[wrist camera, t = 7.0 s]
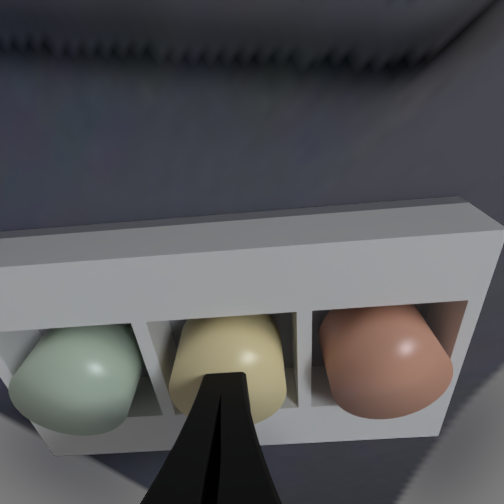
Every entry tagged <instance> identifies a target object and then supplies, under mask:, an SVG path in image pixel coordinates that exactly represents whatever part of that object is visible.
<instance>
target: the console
mask: <svg viewBox="0 0 504 504" xmlns="http://www.w3.org/2000/svg"><path fill="white" fill-rule="evenodd" d="M503 243H504V226H502V225H501V224H499V223H498V222H496V221H495V220H493V219H492V218H491V217H489V216H488V215H486V214H485V213H483V212H482V211H480V210H479V209H477V208H476V207H474V206H473V205H471V204H470V203H469V202H467V201H466V200H464V199H463V198H461V197H460V196H452V197H439V198H426V199H413V200H400V201H388V202H375V203H362V204H349V205H336V206H324V207H311V208H298V209H285V210H272V211H260V212H247V213H234V214H221V215H208V216H196V217H183V218H170V219H157V220H144V221H132V222H119V223H106V224H93V225H80V226H68V227H55V228H42V229H29V230H16V231H4V232H0V377H1V379H2V380H3V382H4V383H5V385H6V386H7V388H8V389H9V383H10V381H11V379H12V377H13V376H14V374H15V373H16V372H17V370H18V369H19V367H20V366H21V365H22V363H23V362H24V361H25V359H26V358H27V356H28V355H29V354H30V352H31V351H32V350H33V348H34V347H35V346H36V344H37V343H38V341H39V340H40V339H41V337H42V336H43V335H44V333H45V332H46V330H47V329H49V328H64V327H79V326H94V325H109V324H124V323H125V324H127V325H128V326H130V327H131V328H132V329H133V331H134V333H135V336H136V339H137V342H138V345H139V348H140V351H141V353H142V356H143V359H144V362H145V365H144V368H143V371H142V374H141V377H140V380H139V383H138V386H137V389H136V392H135V395H134V398H133V400H132V403H131V406H130V409H129V412H128V415H127V418H126V419H125V421H124V422H123V423H122V424H121V425H120V426H119V427H117V428H116V429H114V430H112V431H109V432H107V433H103V434H98V435H91V436H77V435H68V434H63V433H59V432H55V431H52V430H49V429H46V428H44V427H42V426H39V425H37V424H36V423H34V422H32V421H31V420H30V421H31V423H32V424H33V426H34V427H35V429H36V430H37V432H38V433H39V434H40V436H41V437H42V439H43V440H44V442H45V443H46V445H47V446H48V448H49V449H50V451H51V452H52V454H53V455H54V456H71V455H89V454H108V453H127V452H145V451H164V450H171V449H172V447H173V446H174V444H175V442H176V440H177V438H178V436H179V434H180V431H181V429H182V427H183V425H184V423H185V421H186V419H187V416H186V415H184V414H183V413H182V412H181V411H179V410H178V409H177V407H176V406H175V405H174V403H173V402H172V400H171V398H170V394H169V382H170V378H171V374H172V369H173V365H174V361H175V357H176V353H177V349H178V345H179V341H180V336H181V332H182V329H183V326H184V324H185V323H186V321H187V320H188V319H198V318H213V317H228V316H242V315H257V314H268V315H269V316H270V317H271V318H272V319H273V320H274V321H275V323H276V324H277V326H278V328H279V331H280V335H281V343H282V352H283V361H284V370H285V379H286V388H287V391H286V397H285V400H284V402H283V404H282V406H281V407H280V408H279V410H278V411H277V412H276V413H274V414H273V415H272V416H270V417H269V418H267V419H265V420H263V421H261V422H259V423H256V424H254V426H255V430H256V433H257V437H258V440H259V444H260V445H276V444H295V443H313V442H332V441H351V440H369V439H388V438H407V437H425V436H438V435H439V432H440V429H441V426H442V423H443V420H444V417H445V414H446V411H447V408H448V405H449V402H450V399H451V396H452V394H453V391H454V388H455V385H456V382H457V379H458V376H459V373H460V370H461V367H462V364H463V361H464V358H465V355H466V352H467V349H468V346H469V343H470V340H471V337H472V335H473V332H474V329H475V326H476V323H477V320H478V317H479V314H480V311H481V308H482V305H483V302H484V299H485V296H486V293H487V290H488V287H489V284H490V281H491V278H492V276H493V273H494V270H495V267H496V264H497V261H498V258H499V255H500V252H501V249H502V246H503ZM406 304H414V305H415V306H416V308H417V309H418V311H419V312H420V314H421V315H422V317H423V318H424V320H425V321H426V323H427V324H428V326H429V327H430V329H431V331H432V332H433V334H434V335H435V337H436V338H437V340H438V341H439V343H440V344H441V346H442V347H443V349H444V350H445V352H446V353H447V355H448V356H449V358H450V360H451V362H452V365H453V377H452V380H451V383H450V385H449V386H448V388H447V390H446V391H445V392H444V393H443V395H441V396H440V397H439V398H438V399H437V400H436V401H435V402H433V403H432V404H430V405H429V406H427V407H425V408H424V409H422V410H420V411H417V412H415V413H412V414H409V415H406V416H402V417H398V418H392V419H367V418H362V417H358V416H355V415H352V414H350V413H348V412H346V411H345V410H343V409H342V408H341V407H340V406H338V405H337V403H336V402H335V400H334V398H333V396H332V392H331V388H330V384H329V380H328V376H327V372H326V368H325V363H324V359H323V355H322V351H321V347H320V343H319V329H320V326H321V323H322V321H323V320H324V318H325V316H326V315H327V314H328V313H329V312H330V311H331V310H332V309H346V308H361V307H376V306H391V305H406Z"/></svg>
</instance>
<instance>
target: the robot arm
mask: <svg viewBox="0 0 504 504" xmlns="http://www.w3.org/2000/svg"><path fill="white" fill-rule="evenodd" d="M140 504H282V503H281V501H280V498H279V496H278V493H277V491H276V488H275V486H274V483H273V481H272V478H271V475H270V473H269V470H268V467H267V464H266V462H265V459H264V456H263V453H262V450H261V447H260V444H259V440H258V437H257V433H256V430H255V426H254V423H253V419H252V415H251V408H250V400H249V393H248V385H247V378H246V374H245V373H244V372H228V373H211V374H206V375H204V376H203V379H202V382H201V385H200V388H199V390H198V393H197V396H196V398H195V401H194V403H193V405H192V408H191V410H190V412H189V415H188V417H187V419H186V421H185V423H184V425H183V427H182V429H181V431H180V434H179V436H178V438H177V440H176V442H175V444H174V446H173V447H172V449H171V451H170V453H169V455H168V457H167V459H166V460H165V462H164V464H163V466H162V468H161V470H160V471H159V473H158V475H157V477H156V478H155V480H154V482H153V483H152V485H151V487H150V489H149V490H148V492H147V493H146V495H145V497H144V498H143V500H142V501H141V503H140Z"/></svg>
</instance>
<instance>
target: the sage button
mask: <svg viewBox="0 0 504 504" xmlns="http://www.w3.org/2000/svg"><path fill="white" fill-rule="evenodd" d="M144 365H145V362H144V359H143V356H142V353H141V351H140V348H139V345H138V342H137V339H136V336H135V333H134V331H133V329H132V328H131V327H130V326H128V325H127V324H125V323H124V324H109V325H94V326H79V327H64V328H49V329H47V330H46V332H45V333H44V335H43V336H42V337H41V339H40V340H39V341H38V343H37V344H36V346H35V347H34V348H33V350H32V351H31V352H30V354H29V355H28V356H27V358H26V359H25V361H24V362H23V363H22V365H21V366H20V367H19V369H18V370H17V372H16V373H15V374H14V376H13V377H12V379H11V381H10V383H9V389H8V391H9V396H10V399H11V401H12V403H13V405H14V406H15V407H16V408H17V410H18V411H19V412H20V413H21V414H22V415H24V416H25V417H26V418H27V419H29V420H31V421H32V422H34V423H36V424H37V425H39V426H42V427H44V428H46V429H49V430H52V431H55V432H59V433H63V434H68V435H77V436H91V435H98V434H103V433H107V432H109V431H112V430H114V429H116V428H117V427H119V426H120V425H121V424H122V423H123V422H124V421H125V419H126V418H127V415H128V412H129V409H130V406H131V403H132V400H133V398H134V395H135V392H136V389H137V386H138V383H139V380H140V377H141V374H142V371H143V368H144Z"/></svg>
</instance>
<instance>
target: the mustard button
mask: <svg viewBox="0 0 504 504" xmlns="http://www.w3.org/2000/svg"><path fill="white" fill-rule="evenodd" d="M228 372H244V373H245V374H246V378H247V385H248V393H249V400H250V408H251V415H252V419H253V423H254V424H256V423H259V422H261V421H263V420H265V419H267V418H269V417H270V416H272V415H273V414H274V413H276V412H277V411H278V410H279V408H280V407H281V406H282V404H283V402H284V400H285V397H286V391H287V388H286V379H285V370H284V361H283V352H282V343H281V335H280V331H279V328H278V326H277V324H276V323H275V321H274V320H273V319H272V318H271V317H270V316H269V315H268V314H257V315H242V316H228V317H213V318H198V319H188V320H187V321H186V323H185V324H184V326H183V329H182V332H181V336H180V341H179V345H178V349H177V353H176V357H175V361H174V365H173V369H172V374H171V378H170V382H169V394H170V398H171V400H172V402H173V403H174V405H175V406H176V407H177V409H178V410H179V411H181V412H182V413H183V414H184V415H186V416H187V417H188V415H189V412H190V410H191V408H192V405H193V403H194V401H195V398H196V396H197V393H198V390H199V388H200V385H201V382H202V379H203V376H204V375H206V374H211V373H228Z"/></svg>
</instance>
